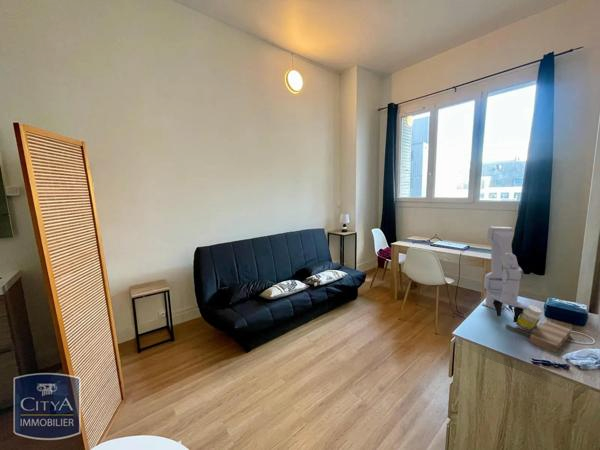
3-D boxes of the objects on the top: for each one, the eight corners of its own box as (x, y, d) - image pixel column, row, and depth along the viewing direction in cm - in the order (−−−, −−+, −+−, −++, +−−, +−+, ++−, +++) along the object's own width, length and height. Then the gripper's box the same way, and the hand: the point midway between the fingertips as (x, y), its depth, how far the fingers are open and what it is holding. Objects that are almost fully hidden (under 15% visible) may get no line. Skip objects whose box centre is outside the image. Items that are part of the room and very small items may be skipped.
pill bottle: (526, 323, 117) (537, 305, 112) (535, 333, 111) (547, 315, 107) (512, 321, 117) (522, 302, 113) (520, 331, 112) (532, 312, 107)
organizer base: (519, 318, 123) (520, 312, 123) (570, 335, 108) (571, 329, 108) (502, 331, 113) (503, 325, 112) (555, 352, 98) (556, 345, 98)
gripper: (488, 289, 121) (485, 314, 123) (526, 300, 109) (523, 328, 111) (494, 285, 125) (491, 310, 127) (532, 296, 113) (528, 323, 115)
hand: (506, 318), depth 119 cm, fingers open, 6 cm apart
